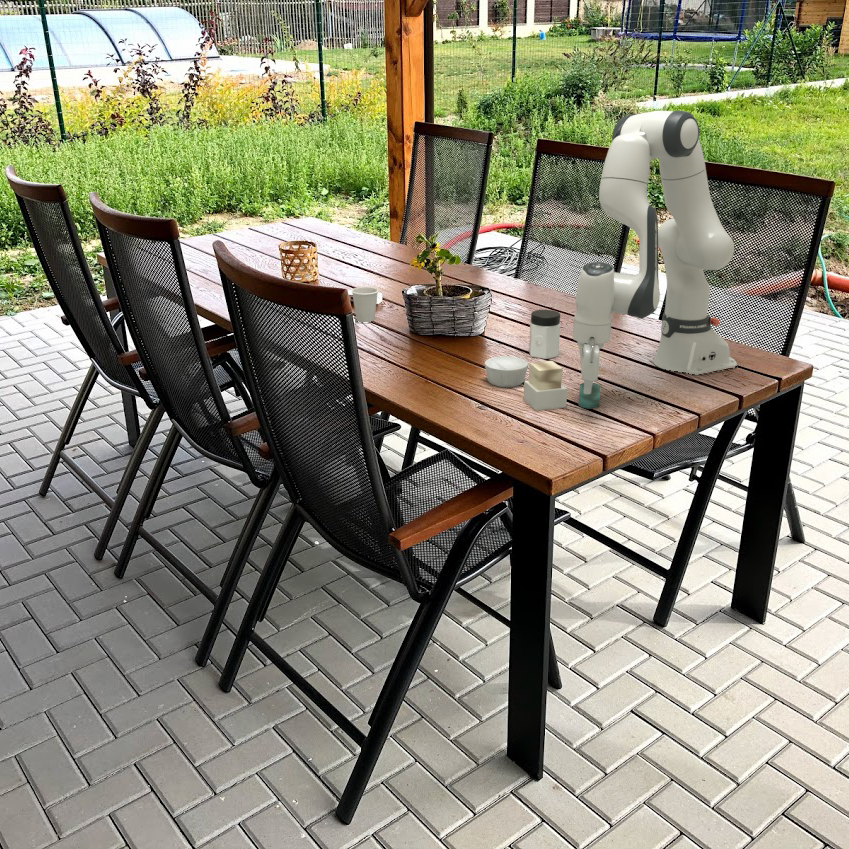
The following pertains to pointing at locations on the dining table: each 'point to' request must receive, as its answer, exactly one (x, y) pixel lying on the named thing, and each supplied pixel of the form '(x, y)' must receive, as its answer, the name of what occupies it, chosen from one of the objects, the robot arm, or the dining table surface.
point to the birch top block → (545, 375)
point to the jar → (544, 334)
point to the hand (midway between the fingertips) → (586, 386)
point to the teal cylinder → (589, 397)
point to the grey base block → (545, 397)
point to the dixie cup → (365, 303)
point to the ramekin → (506, 371)
